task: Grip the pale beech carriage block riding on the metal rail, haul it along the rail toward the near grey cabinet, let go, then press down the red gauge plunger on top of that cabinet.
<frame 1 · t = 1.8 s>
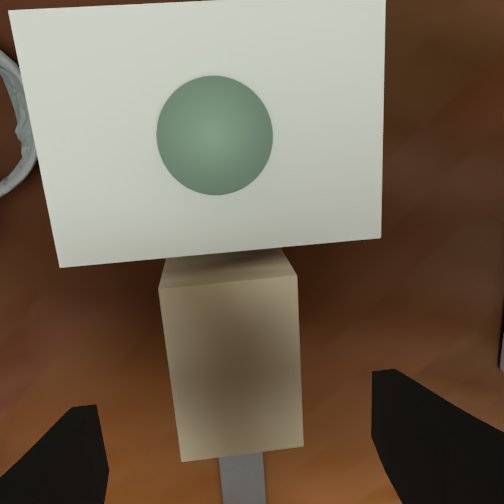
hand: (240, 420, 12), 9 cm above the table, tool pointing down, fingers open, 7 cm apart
white button box: (211, 130, 18), on the table
carriage: (230, 328, 17), point 3 cm above the table, slide at 0.0 cm
rail: (235, 407, 22), on the table
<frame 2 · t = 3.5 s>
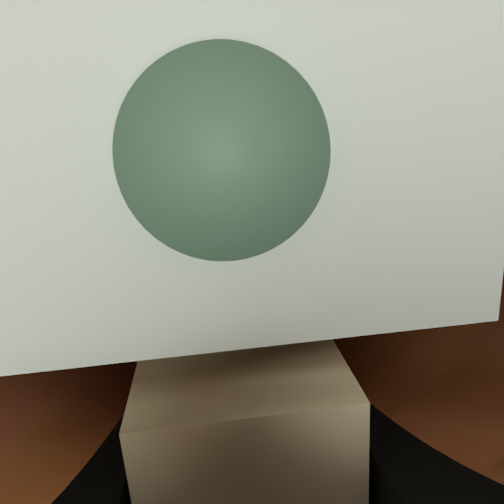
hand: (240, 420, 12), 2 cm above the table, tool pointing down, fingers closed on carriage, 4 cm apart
white button box: (213, 138, 12), on the table
carriage: (243, 442, 11), point 3 cm above the table, slide at 0.0 cm, touching gripper
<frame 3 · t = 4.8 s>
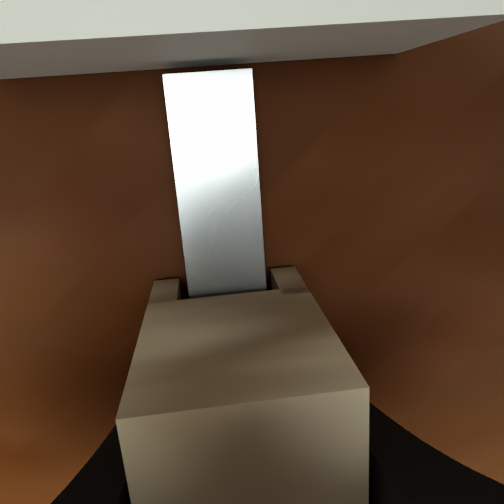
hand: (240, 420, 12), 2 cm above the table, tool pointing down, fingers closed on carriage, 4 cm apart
carriage: (242, 433, 11), point 3 cm above the table, slide at 5.0 cm, touching gripper
rail: (235, 383, 14), on the table
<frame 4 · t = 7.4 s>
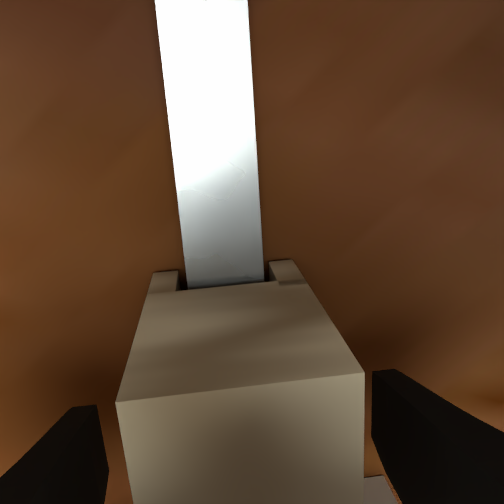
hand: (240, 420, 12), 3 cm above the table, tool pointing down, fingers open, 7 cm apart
carriage: (240, 422, 11), point 3 cm above the table, slide at 9.5 cm
rail: (221, 237, 13), on the table
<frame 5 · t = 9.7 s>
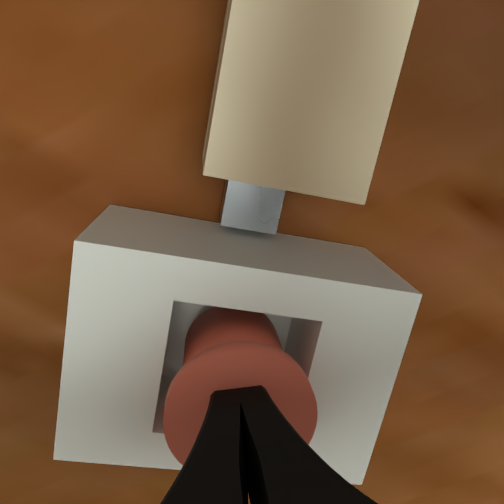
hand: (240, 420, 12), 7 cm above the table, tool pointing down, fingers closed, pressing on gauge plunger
gauge plunger: (236, 378, 14), point 5 cm above the table, slide at 0.3 cm, touching gripper
carriage: (289, 70, 13), point 3 cm above the table, slide at 9.5 cm
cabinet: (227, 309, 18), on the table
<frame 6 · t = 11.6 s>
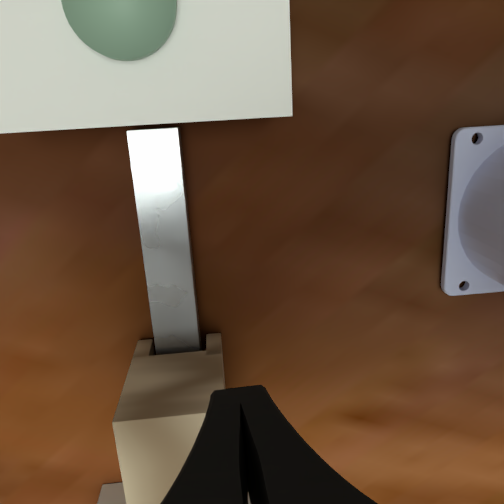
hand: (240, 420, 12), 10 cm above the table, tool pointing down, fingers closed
white button box: (145, 31, 18), on the table
carriage: (182, 430, 20), point 3 cm above the table, slide at 9.5 cm
rail: (178, 320, 22), on the table
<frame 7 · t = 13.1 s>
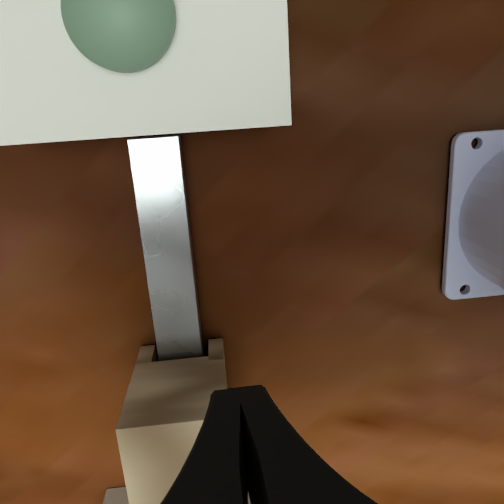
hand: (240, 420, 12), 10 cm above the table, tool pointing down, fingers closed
white button box: (145, 40, 18), on the table
carriage: (185, 435, 20), point 3 cm above the table, slide at 9.5 cm
rail: (180, 325, 22), on the table
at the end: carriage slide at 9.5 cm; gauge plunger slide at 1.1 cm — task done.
